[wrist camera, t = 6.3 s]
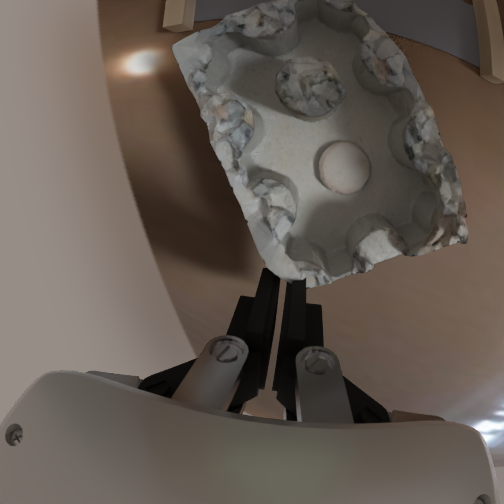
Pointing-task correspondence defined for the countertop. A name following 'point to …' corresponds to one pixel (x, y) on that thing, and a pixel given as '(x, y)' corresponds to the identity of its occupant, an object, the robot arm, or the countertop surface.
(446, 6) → the strips
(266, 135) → the egg carton
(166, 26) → the channel
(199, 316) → the countertop surface
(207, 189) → the countertop surface
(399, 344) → the countertop surface
